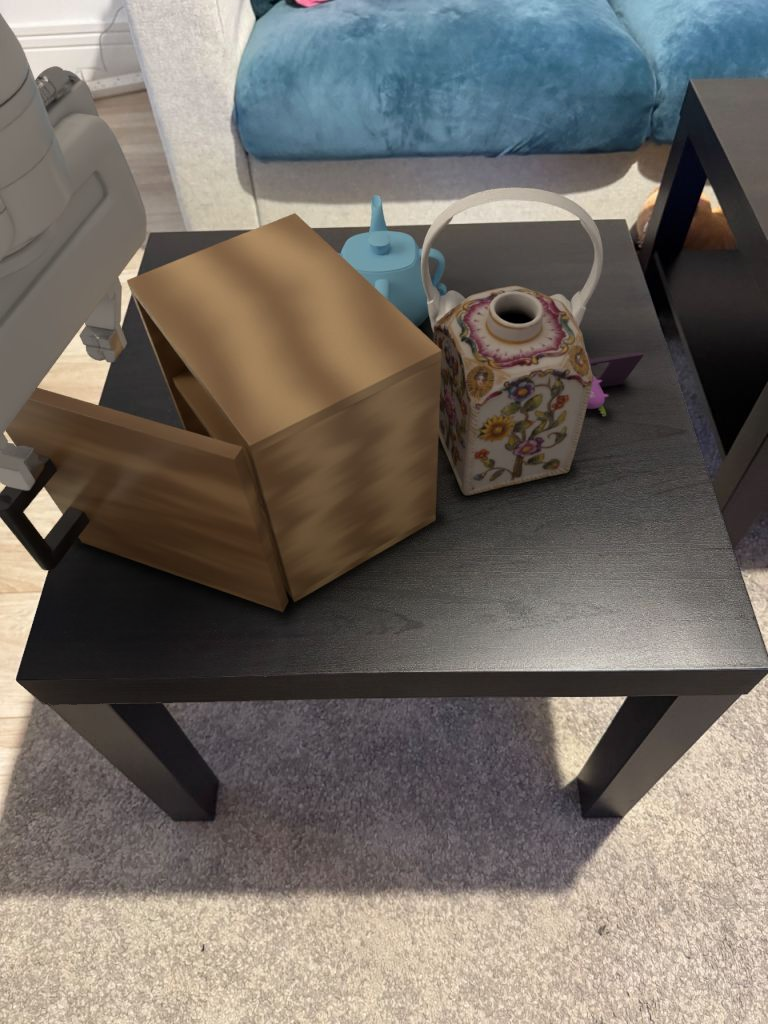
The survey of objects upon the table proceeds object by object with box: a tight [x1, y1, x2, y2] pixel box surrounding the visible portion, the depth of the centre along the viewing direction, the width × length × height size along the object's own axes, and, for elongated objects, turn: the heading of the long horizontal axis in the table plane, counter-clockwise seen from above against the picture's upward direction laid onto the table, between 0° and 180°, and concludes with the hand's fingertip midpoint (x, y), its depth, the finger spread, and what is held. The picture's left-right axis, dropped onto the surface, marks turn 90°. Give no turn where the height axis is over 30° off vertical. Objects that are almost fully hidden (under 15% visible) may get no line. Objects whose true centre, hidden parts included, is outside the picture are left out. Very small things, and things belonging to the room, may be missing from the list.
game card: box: [586, 351, 645, 417], centre depth 78 cm, size 7×5×9 cm
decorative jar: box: [432, 285, 594, 496], centre depth 70 cm, size 12×12×18 cm
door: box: [0, 387, 289, 613], centre depth 59 cm, size 7×22×22 cm, turn 69°
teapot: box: [337, 194, 448, 328], centre depth 86 cm, size 13×14×11 cm
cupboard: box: [126, 212, 442, 603], centre depth 66 cm, size 16×22×22 cm
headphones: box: [421, 187, 604, 334], centre depth 77 cm, size 7×18×20 cm, turn 84°
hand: (70, 411), depth 40 cm, fingers open, 8 cm apart
